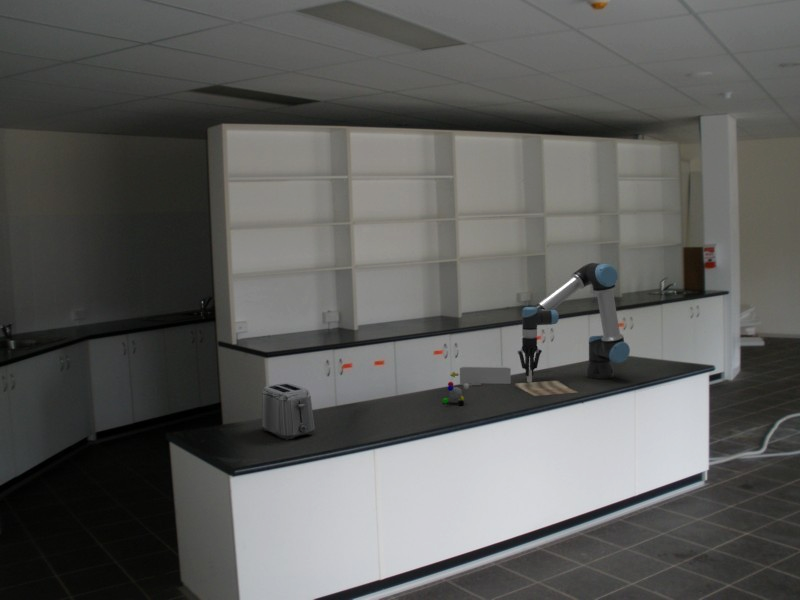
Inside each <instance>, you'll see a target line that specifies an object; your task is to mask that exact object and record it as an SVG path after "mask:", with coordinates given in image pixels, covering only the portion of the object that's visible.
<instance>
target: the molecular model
mask: <svg viewBox="0 0 800 600" xmlns="http://www.w3.org/2000/svg"><path fill="white" fill-rule="evenodd" d="M469 388H470V385H468V384H467V383H466V384H464V385H463V388H460V387H458V386H454V382H453V381H449V382H448V383H447V390H448V391H449V397H448V398H447V397H444V398H443V399H442V402H443V404H448V403H449V400H450V399H451V400H454V401H457V400H458V405H459V406H461V407H462V406H464V404H465V401H464V400H465V398H464V396H463V390H464V389H465V390H468V389H469Z"/></svg>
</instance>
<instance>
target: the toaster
mask: <svg viewBox="0 0 800 600" xmlns="http://www.w3.org/2000/svg"><path fill="white" fill-rule="evenodd" d="M261 393H262V394H261V427H262V429H263V431H265V432H270V433H271V434H273V435H276V436H277V437H279V438H281V439H284V440H286V441H288V440H293V439H295V438H296V437H300V436H303V435H308V436H311V435H313V434H314V433H315V429H316V427H315V421H314V412H313V404H312V396H311V393H310V391H309V390H308V389H307V388H305V387H303V386H300V385H296V384H294V383H293V384H292V383H289V382H284V383H283V382H282V383H275V384H271V385H270V384H269V385H266V386H264V388H263V389H262V392H261Z"/></svg>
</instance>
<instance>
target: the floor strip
mask: <svg viewBox="0 0 800 600" xmlns="http://www.w3.org/2000/svg"><path fill="white" fill-rule="evenodd" d="M527 393H528V394H529V395H532V396H534V397H537V396H548V395H549V396H551V395H561V394H562V395H563V394H574V393H578V394H579V391H577V390H575V389H572V388H570V387H568V388H566V389H553V390H540V391H527Z"/></svg>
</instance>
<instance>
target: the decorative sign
mask: <svg viewBox="0 0 800 600" xmlns="http://www.w3.org/2000/svg"><path fill="white" fill-rule="evenodd" d="M511 374H512V373H511V367H508V366H475V365H474V366H473V365H472V366H470V365H469V366H468V365H466V366H465V365H464V366H460V367H459V373H457V372H455V371H453V372H451V373H450V374H449V376H450V377H452V378H456V377H458V376H459V384H460V386H464V384H466V383H467V384H468V385H469V386H472V385H482V386H483V385H484V384H485V385H486V384H487V385H488V384H494V385H497V384H498V385H509V384H510V385H511V380H512V379H511V378H512V376H511ZM475 382H476V383H475ZM470 383H471V384H470Z"/></svg>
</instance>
